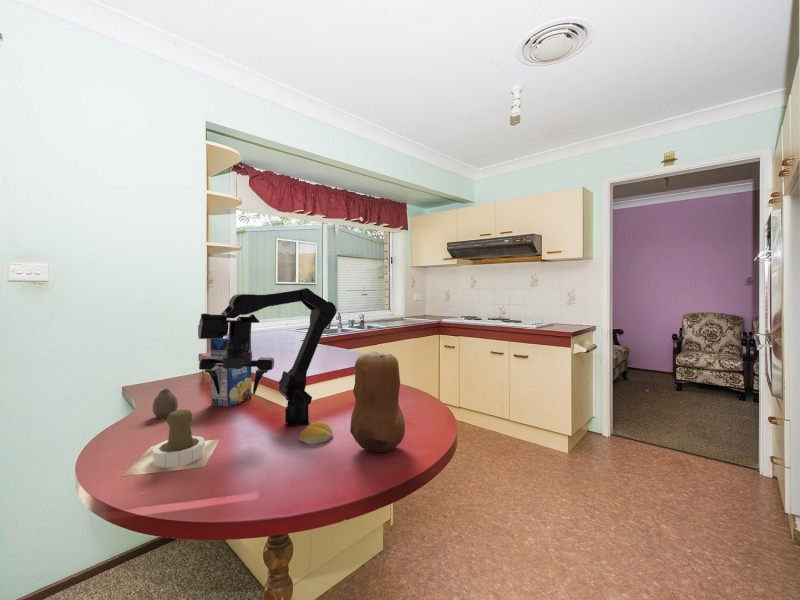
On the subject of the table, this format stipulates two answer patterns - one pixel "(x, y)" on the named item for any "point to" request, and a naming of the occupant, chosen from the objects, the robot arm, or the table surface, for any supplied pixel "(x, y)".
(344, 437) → the table surface
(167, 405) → the brown fig
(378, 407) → the butternut squash
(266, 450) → the table surface
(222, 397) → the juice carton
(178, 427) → the cork
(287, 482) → the table surface
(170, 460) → the cream collar
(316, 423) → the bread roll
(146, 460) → the oak board
